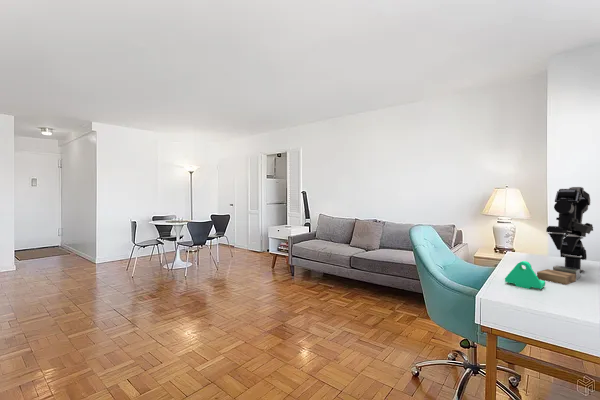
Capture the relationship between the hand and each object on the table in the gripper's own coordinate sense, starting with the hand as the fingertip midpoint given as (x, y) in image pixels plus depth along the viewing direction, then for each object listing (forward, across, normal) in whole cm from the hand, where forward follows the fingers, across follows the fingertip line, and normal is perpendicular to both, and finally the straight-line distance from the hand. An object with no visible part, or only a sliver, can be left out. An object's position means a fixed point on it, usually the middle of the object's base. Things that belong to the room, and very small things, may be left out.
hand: (565, 250), depth 135 cm
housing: (+12, +3, +1) cm, 12 cm away
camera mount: (+17, -27, 0) cm, 32 cm away
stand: (+13, -7, -1) cm, 15 cm away
